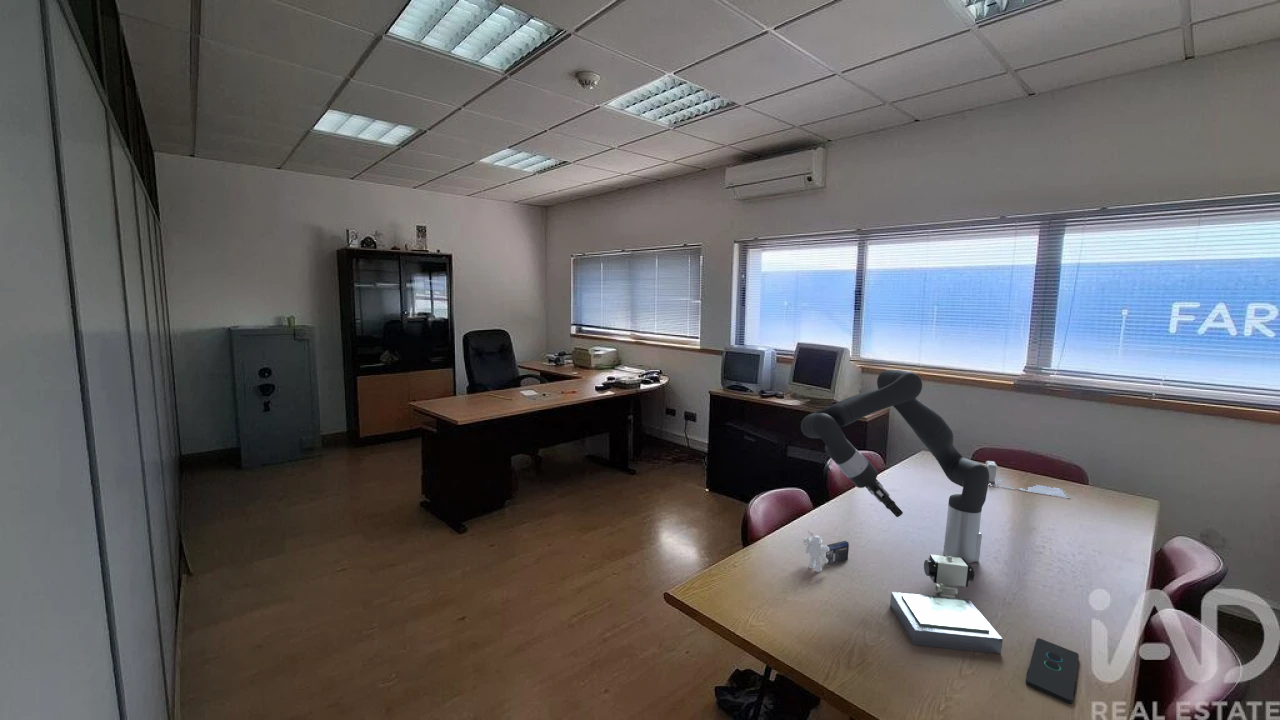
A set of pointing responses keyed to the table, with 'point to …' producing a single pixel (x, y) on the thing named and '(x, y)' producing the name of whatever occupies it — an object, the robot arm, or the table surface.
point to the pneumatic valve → (948, 573)
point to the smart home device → (1053, 671)
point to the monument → (1035, 489)
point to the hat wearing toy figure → (816, 551)
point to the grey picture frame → (945, 623)
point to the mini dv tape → (837, 552)
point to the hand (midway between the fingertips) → (894, 508)
